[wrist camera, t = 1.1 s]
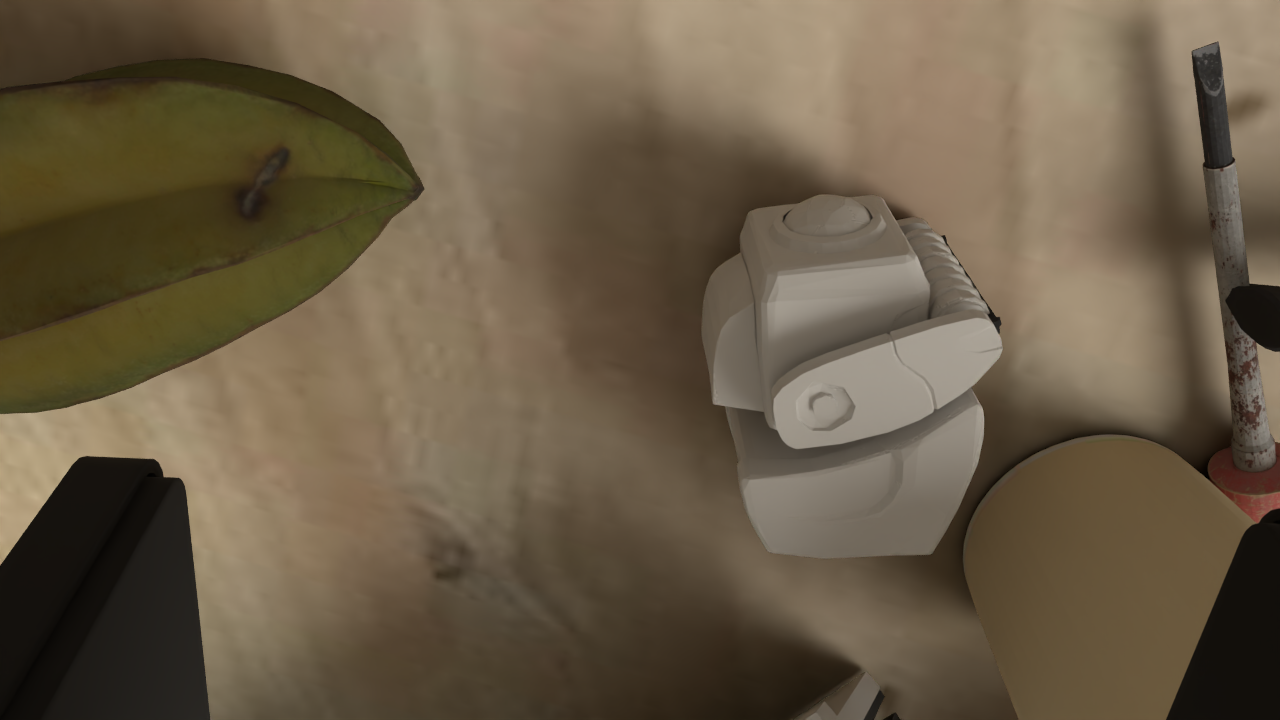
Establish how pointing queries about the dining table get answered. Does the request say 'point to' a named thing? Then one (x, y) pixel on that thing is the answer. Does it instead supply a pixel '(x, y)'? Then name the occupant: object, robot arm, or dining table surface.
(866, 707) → the grey slotted block
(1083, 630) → the coffee cup
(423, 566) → the dining table surface
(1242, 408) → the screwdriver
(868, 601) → the dining table surface
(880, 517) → the grey knobbed block
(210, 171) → the fruit
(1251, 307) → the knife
